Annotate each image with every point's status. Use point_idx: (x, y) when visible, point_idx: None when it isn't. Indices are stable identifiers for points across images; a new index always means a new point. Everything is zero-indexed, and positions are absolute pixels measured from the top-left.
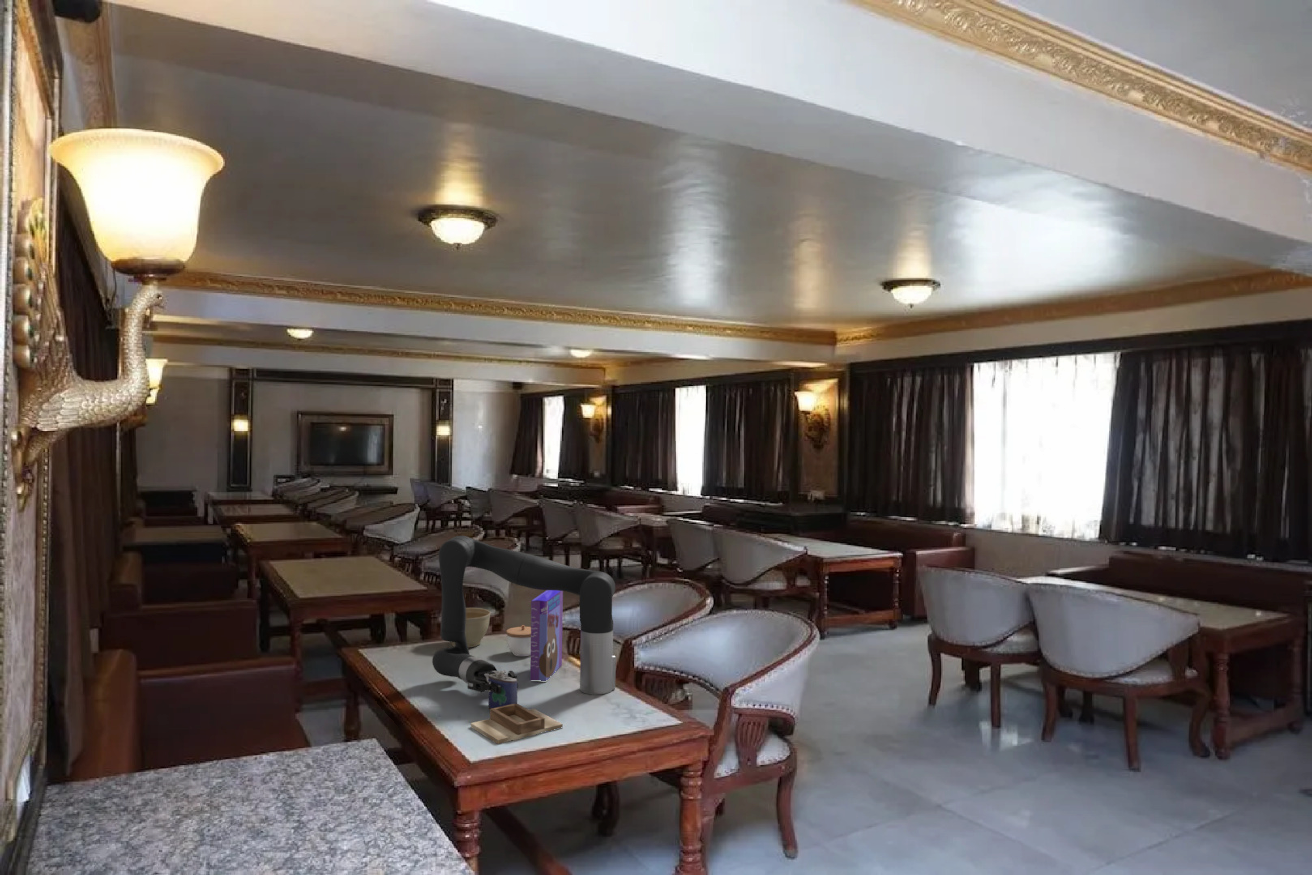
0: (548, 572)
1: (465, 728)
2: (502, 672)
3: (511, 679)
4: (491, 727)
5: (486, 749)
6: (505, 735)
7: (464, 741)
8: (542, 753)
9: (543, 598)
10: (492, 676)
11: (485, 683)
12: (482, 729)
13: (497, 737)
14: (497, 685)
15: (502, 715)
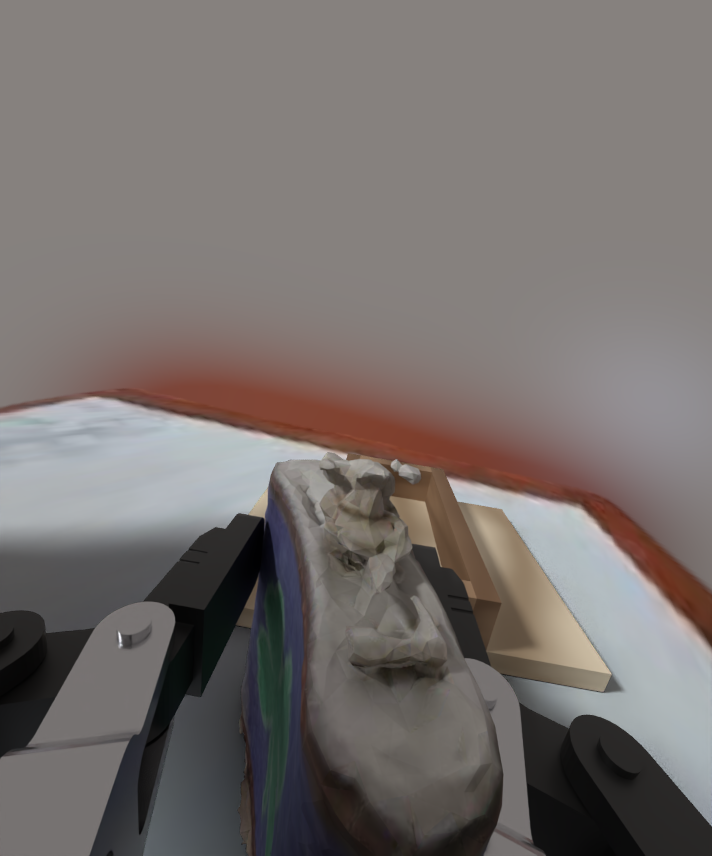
0: None
1: (637, 698)
2: (375, 463)
3: (304, 486)
4: (502, 572)
5: (537, 520)
6: (471, 512)
7: (617, 587)
8: (416, 460)
9: None
10: (449, 649)
11: (553, 791)
12: (545, 579)
13: (499, 518)
14: (435, 558)
15: (463, 522)
